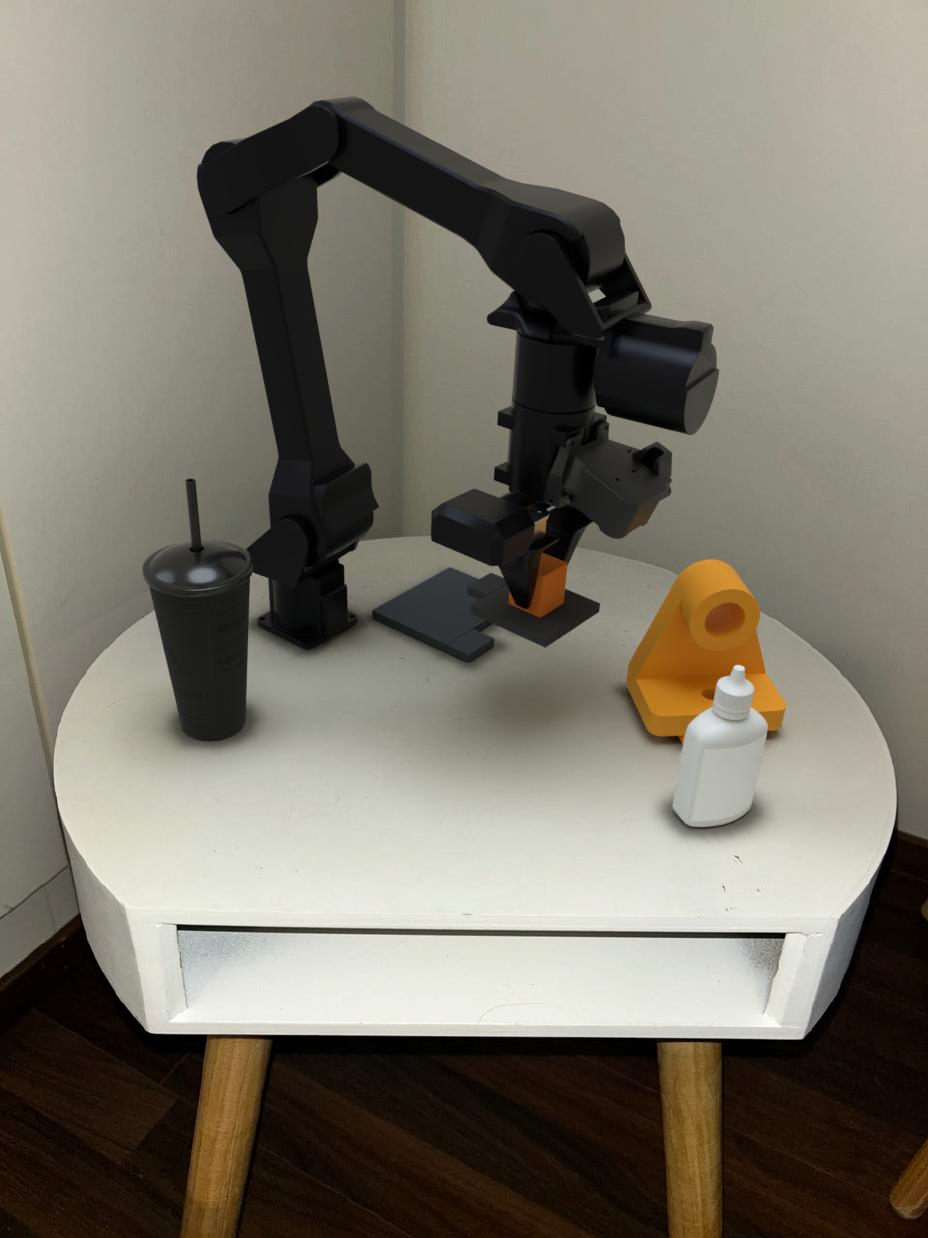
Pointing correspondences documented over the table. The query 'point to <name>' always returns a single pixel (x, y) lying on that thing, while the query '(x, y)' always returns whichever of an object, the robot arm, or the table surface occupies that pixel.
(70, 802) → the table surface
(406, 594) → the charcoal pad
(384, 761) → the table surface
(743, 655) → the bracket
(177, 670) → the drinking cup
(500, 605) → the black pad
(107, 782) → the table surface
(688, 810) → the eye dropper bottle
